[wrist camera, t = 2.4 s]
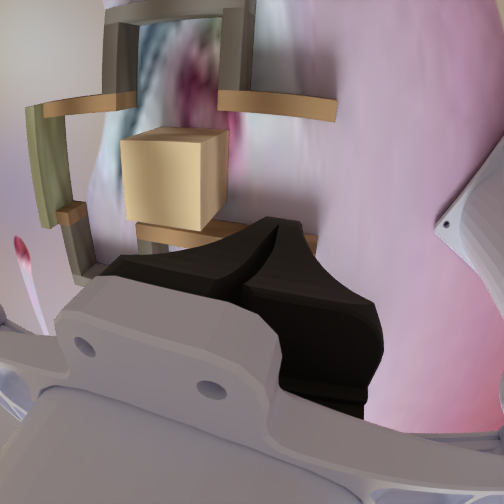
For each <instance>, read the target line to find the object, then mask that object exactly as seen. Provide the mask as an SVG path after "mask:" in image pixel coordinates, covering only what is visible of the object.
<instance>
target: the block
mask: <svg viewBox="0 0 504 504" xmlns="http://www.w3.org/2000/svg"><path fill="white" fill-rule="evenodd" d="M229 133H230V130H223V129H206V128H184V127H159V128H156V129H153V130H150V131H146V132H143V133H140V134H137V135H134V136H131V137H128V138H125V139H123V140H120V146H121V163H122V177H123V189H124V199H125V209H126V218H127V220H131V221H137V222H144V223H150V224H157V225H163V226H169V227H175V228H182V229H188V230H194V231H200V232H201V230H202V229H203V228H204V227H205V226H206V225H207V223H208V222H209V221H210V220H211V219H212V218H213V217H214V215H215V214H216V213H217V212H218V211H219V210H220V209H221V208H222V206H223V205H224V204H225V203H226V202H227V183H228V157H229Z"/></svg>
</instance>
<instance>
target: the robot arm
mask: <svg viewBox="0 0 504 504" xmlns="http://www.w3.org/2000/svg"><path fill="white" fill-rule="evenodd" d="M503 146H504V135H503V137H502V138H501V140H500V141H499V143H498V144H497V146H496V147H495V148H494V150H493V151H492V153H491V154H490V155H489V157H488V158H487V160H486V161H485V162H484V164H483V165H482V166H481V168H480V169H479V170H478V172H477V173H476V174H475V176H474V177H473V178H472V180H471V181H470V182H469V184H468V185H467V186H466V187H465V189H464V190H463V191H462V192H461V194H460V195H459V196H458V197H457V199H456V200H455V201H454V202H453V204H452V205H451V206H450V207H449V208H448V210H447V211H446V212H445V213H444V214H443V216H442V217H441V218H440V219H439V220H438V222H437V223H436V224H435V226H434V231H435V233H436V235H437V236H438V237H440V238H441V239H442V240H443V241H444V242H445V243H446V244H447V245H448V246H449V247H451V248H452V249H453V250H454V251H455V252H456V253H457V254H458V255H459V256H460V257H461V258H462V259H463V260H464V261H465V262H466V263H467V264H468V265H469V266H470V267H472V268H473V269H474V270H475V271H476V272H477V273H478V274H479V276H480V277H481V279H482V281H483V283H484V284H485V286H486V288H487V289H488V291H489V293H490V295H491V297H492V298H493V300H494V302H495V304H496V306H497V308H498V310H499V312H500V314H501V315H502V317H503V319H504V147H503ZM445 221H448V224H447V225H446V226H443V223H444V222H445ZM54 324H55V330H56V335H57V337H56V336H45V335H36V334H34V333H32V332H30V331H28V330H26V329H24V328H22V327H21V326H19V325H17V324H15V323H13V322H12V321H10V320H8V319H7V318H6V314H5V311H4V309H3V307H2V305H1V304H0V405H2V406H3V407H4V408H5V409H6V410H7V411H8V412H9V413H11V414H12V415H13V416H14V417H15V418H17V419H18V420H19V421H20V422H21V423H20V424H19V426H18V427H17V428H16V430H15V431H14V432H13V434H12V435H11V437H10V438H9V439H8V441H7V442H6V444H5V445H4V447H3V448H2V450H1V451H0V504H504V424H503V426H502V427H501V428H500V429H499V431H490V432H475V433H403V432H399V431H396V430H393V429H389V428H386V427H383V426H380V425H377V424H374V423H371V422H367V421H364V405H365V404H366V402H367V399H368V386H369V384H370V382H371V380H372V378H373V376H374V374H375V372H376V370H377V368H378V366H379V364H380V362H381V359H382V356H383V352H384V340H383V332H382V327H381V324H380V320H379V317H378V314H377V310H376V307H375V304H374V303H373V302H371V301H369V300H367V299H365V298H364V297H362V296H360V295H358V294H356V293H354V292H352V291H351V290H349V289H348V288H346V287H345V286H344V285H342V284H341V283H340V282H338V281H337V280H336V279H335V278H334V277H332V276H331V275H330V274H329V273H328V272H327V271H326V270H325V269H324V268H323V267H322V266H321V264H320V263H319V262H318V261H317V259H316V258H315V256H314V254H313V253H312V251H311V249H310V247H309V245H308V243H307V241H306V239H305V236H304V233H303V230H302V224H301V223H300V221H293V220H287V219H281V218H275V217H268V216H267V217H264V218H262V219H260V220H259V221H257V222H255V223H253V224H251V225H250V226H248V227H246V228H244V229H242V230H240V231H238V232H236V233H234V234H232V235H229V236H227V237H225V238H223V239H220V240H218V241H215V242H212V243H209V244H206V245H203V246H199V247H194V248H190V249H185V250H181V251H175V252H169V253H160V254H148V255H120V256H119V257H118V258H117V259H116V260H114V261H113V262H112V263H111V264H110V265H109V266H108V267H107V268H106V269H105V270H104V271H103V272H102V273H101V274H100V275H98V276H96V277H95V278H94V279H93V280H91V281H90V282H89V283H88V284H87V285H86V286H85V287H84V288H83V289H82V290H81V291H80V292H79V293H78V294H77V295H76V296H75V297H74V298H73V299H72V300H71V301H70V302H69V303H68V304H67V305H66V306H65V307H64V308H63V309H62V310H61V311H60V313H59V314H58V315H57V317H56V318H55V319H54ZM499 397H500V403H501V407H502V410H503V413H504V372H503V373H502V376H501V379H500V384H499Z"/></svg>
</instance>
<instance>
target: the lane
mask: <svg viewBox="0 0 504 504" xmlns="http://www.w3.org/2000/svg"><path fill="white" fill-rule="evenodd" d="M255 10H256V0H144V1H139V2H134V3H130V4H125V5H121V6H117V7H113V8H109V9H106V11H105V24H104V38H103V63H102V94H98V95H90V96H82V97H75V98H68V99H62V100H57V101H51V102H47V103H43V104H38V105H34V106H29V107H26V108H25V113H26V128H27V139H28V149H29V157H30V165H31V172H32V179H33V185H34V191H35V197H36V202H37V207H38V212H39V217H40V221H41V226H42V227H43V228H48V229H51V228H52V227H54V226H55V225H57V224H60V225H61V229H62V234H63V238H64V243H65V247H66V251H67V255H68V259H69V264H70V267H71V271H72V275H73V279H74V282H75V284H76V285H79V286H82V287H85V286H86V285H87V284H88V283H89V282H90V281H91V280H93V279H94V278H95V277H96V276H98V275H100V274H101V273H102V272H103V271H104V270H105V269H106V268H107V267H108V265H104V264H100V263H97V262H96V258H95V253H94V248H93V242H92V237H91V232H90V226H89V220H88V213H87V207H86V202H81V201H74V200H73V195H72V188H71V180H70V172H69V163H68V154H67V142H66V128H65V115H74V114H84V113H95V112H109V111H119V110H124V109H129V108H134V107H137V60H138V39H139V26H141V25H147V24H153V23H160V22H168V21H176V20H186V19H197V18H212V17H222V31H221V47H220V64H219V83H218V104H217V110H218V111H236V112H251V113H263V114H273V115H283V116H292V117H300V118H308V119H315V120H322V121H329V122H335V121H336V112H337V103H338V101H337V100H335V99H329V98H322V97H314V96H306V95H298V94H289V93H278V92H266V91H252V90H250V84H251V69H252V54H253V39H254V24H255ZM135 225H136V234H137V242H138V250H139V255H148V254H160V253H169V252H168V245H173V246H179V247H184V248H194V247H199V246H203V245H206V244H209V243H212V242H215V241H218V240H220V239H223V238H225V237H227V236H229V235H232V234H234V233H236V232H238V231H240V230H242V229H244V228H246V227H248V226H250V225H246V224H240V223H233V222H227V221H220V220H214V219H211V220H210V221H209V222H208V223H207V225H206V226H205V227H204V228H203V229H202V230H201V232H200V231H194V230H188V229H182V228H175V227H169V226H163V225H157V224H150V223H144V222H137V223H136V224H135ZM304 236H305V239H306V241H307V243H308V245H309V247H310V249H311V251H312V253H313V254H314V256H315V254H316V247H317V239H318V236H314V235H308V234H304Z"/></svg>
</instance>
